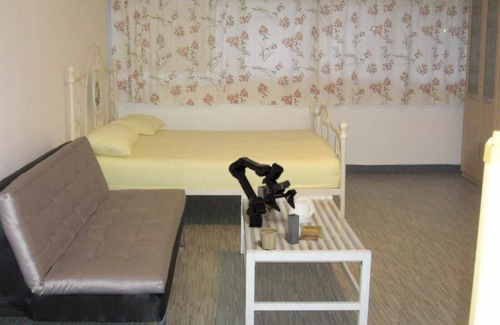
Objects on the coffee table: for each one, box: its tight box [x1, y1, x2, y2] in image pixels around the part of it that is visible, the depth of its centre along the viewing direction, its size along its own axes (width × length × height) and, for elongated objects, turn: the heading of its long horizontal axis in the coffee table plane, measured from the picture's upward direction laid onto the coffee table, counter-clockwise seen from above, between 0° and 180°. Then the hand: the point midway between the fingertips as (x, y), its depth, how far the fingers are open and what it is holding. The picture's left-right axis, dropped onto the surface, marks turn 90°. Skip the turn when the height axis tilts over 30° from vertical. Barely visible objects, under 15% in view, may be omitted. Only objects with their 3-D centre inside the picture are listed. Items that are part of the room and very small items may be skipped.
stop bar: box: [286, 213, 300, 246], centre depth 289 cm, size 4×4×14 cm
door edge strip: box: [284, 235, 319, 242], centre depth 295 cm, size 16×2×1 cm, turn 84°
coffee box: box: [257, 184, 277, 217], centre depth 340 cm, size 9×6×16 cm
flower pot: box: [258, 227, 280, 251], centre depth 281 cm, size 9×9×9 cm
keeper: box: [301, 225, 323, 240], centre depth 301 cm, size 10×10×4 cm
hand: (287, 210), depth 295 cm, fingers open, 9 cm apart
